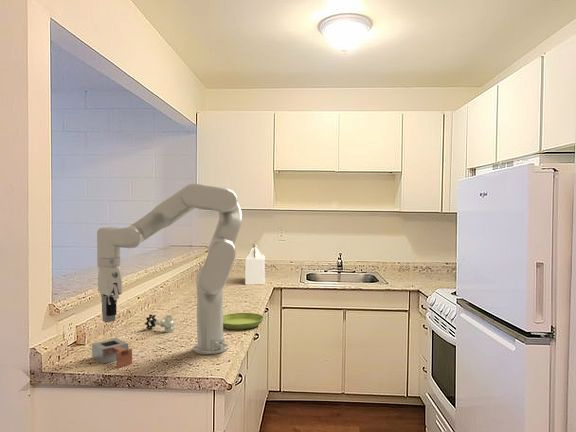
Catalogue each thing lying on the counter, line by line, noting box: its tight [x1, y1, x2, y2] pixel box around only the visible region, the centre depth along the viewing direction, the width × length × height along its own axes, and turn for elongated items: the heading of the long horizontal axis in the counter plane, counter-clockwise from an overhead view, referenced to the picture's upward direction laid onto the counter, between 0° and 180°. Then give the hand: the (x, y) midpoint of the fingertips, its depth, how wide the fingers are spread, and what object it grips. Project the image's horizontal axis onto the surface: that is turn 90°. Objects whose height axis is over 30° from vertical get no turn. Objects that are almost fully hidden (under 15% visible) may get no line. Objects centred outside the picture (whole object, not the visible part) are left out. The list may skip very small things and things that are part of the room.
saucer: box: [223, 312, 265, 330], centre depth 201 cm, size 21×21×3 cm
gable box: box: [244, 241, 266, 285], centre depth 312 cm, size 22×13×28 cm, turn 3°
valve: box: [144, 314, 175, 334], centre depth 191 cm, size 7×7×12 cm
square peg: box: [101, 293, 116, 324], centre depth 157 cm, size 3×3×9 cm
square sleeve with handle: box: [91, 337, 133, 368], centre depth 155 cm, size 16×9×5 cm, turn 45°
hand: (109, 313), depth 157 cm, fingers closed on square peg, 3 cm apart
